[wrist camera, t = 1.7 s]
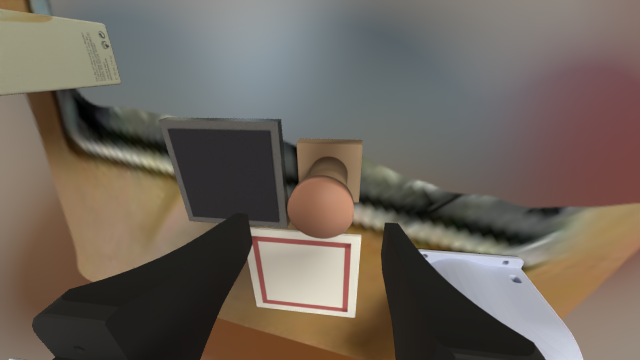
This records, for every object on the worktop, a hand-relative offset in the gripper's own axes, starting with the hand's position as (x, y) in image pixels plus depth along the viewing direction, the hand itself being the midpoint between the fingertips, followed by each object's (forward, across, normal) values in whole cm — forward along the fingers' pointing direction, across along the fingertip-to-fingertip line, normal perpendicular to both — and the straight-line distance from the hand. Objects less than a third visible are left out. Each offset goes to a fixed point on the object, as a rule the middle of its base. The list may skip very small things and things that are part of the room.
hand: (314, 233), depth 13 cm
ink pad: (+9, +9, +1) cm, 13 cm away
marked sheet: (+9, +3, +13) cm, 16 cm away
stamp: (+9, 0, 0) cm, 9 cm away
